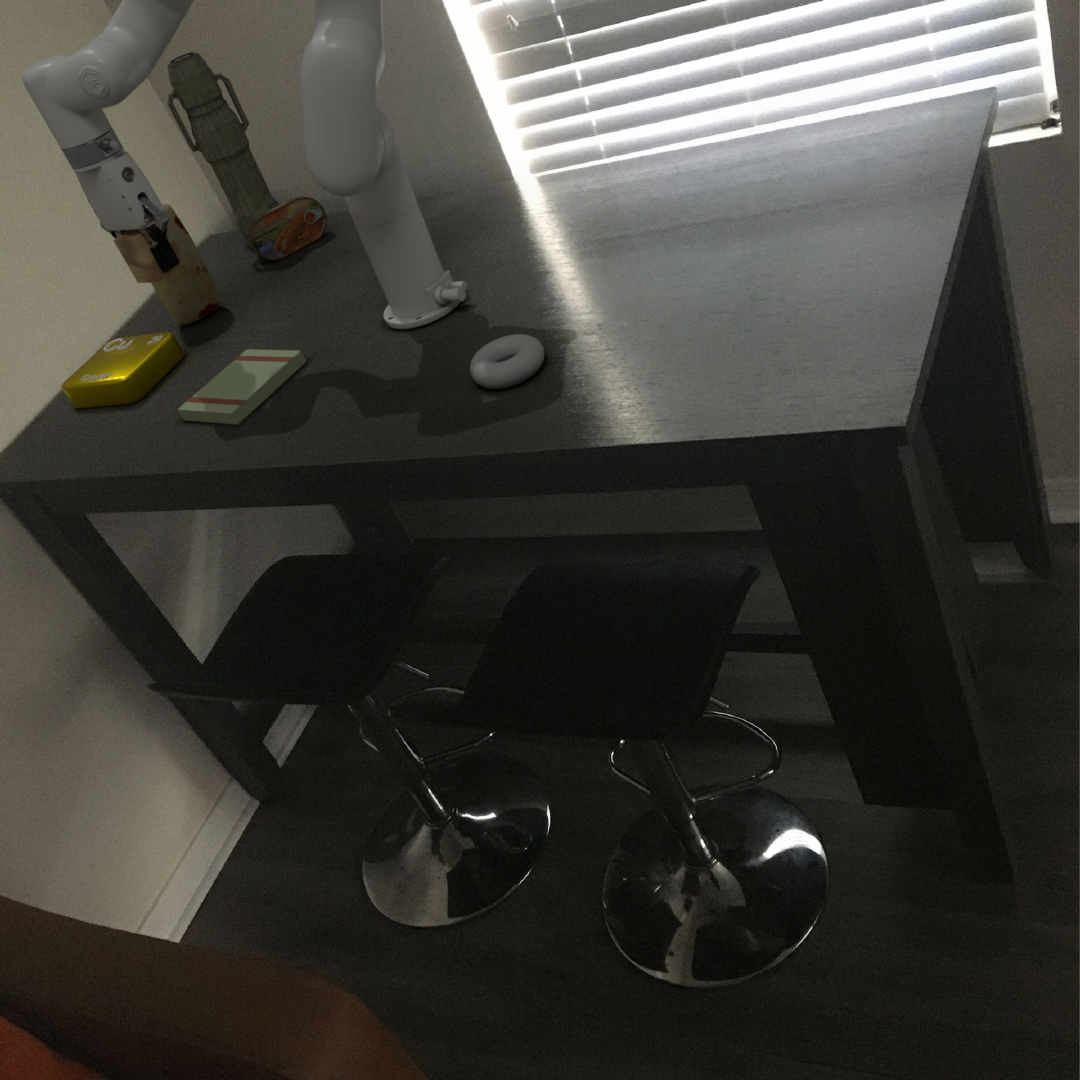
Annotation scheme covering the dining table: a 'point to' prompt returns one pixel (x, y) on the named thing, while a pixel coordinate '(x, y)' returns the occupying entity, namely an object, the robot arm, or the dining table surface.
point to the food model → (186, 279)
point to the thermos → (219, 137)
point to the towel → (242, 386)
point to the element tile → (123, 370)
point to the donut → (507, 361)
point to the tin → (287, 228)
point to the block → (144, 256)
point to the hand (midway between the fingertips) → (158, 267)
